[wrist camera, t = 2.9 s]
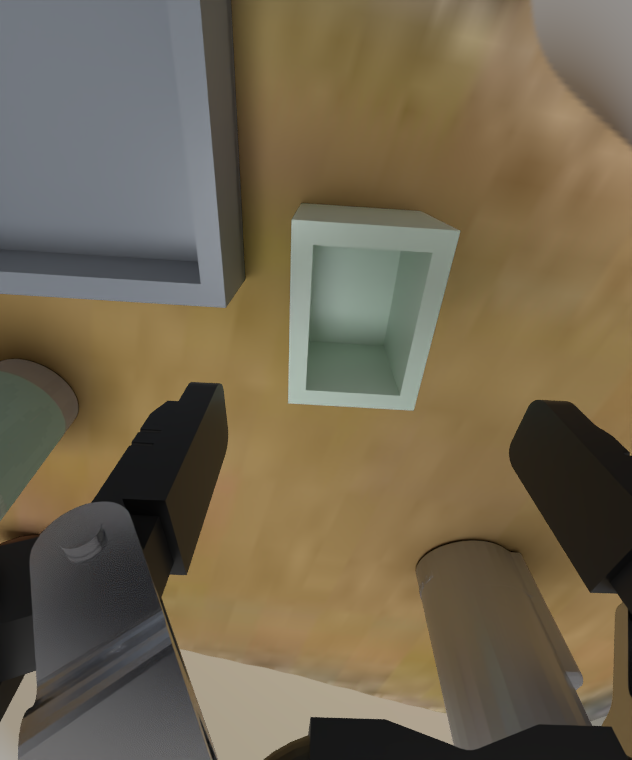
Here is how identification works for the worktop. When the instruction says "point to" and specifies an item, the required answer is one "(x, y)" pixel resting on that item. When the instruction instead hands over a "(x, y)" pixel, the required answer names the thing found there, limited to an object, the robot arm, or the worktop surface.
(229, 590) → the worktop surface
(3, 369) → the coffee cup
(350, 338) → the small crate
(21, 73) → the large crate
